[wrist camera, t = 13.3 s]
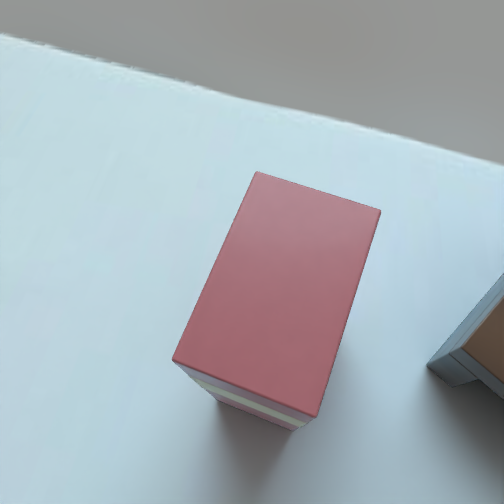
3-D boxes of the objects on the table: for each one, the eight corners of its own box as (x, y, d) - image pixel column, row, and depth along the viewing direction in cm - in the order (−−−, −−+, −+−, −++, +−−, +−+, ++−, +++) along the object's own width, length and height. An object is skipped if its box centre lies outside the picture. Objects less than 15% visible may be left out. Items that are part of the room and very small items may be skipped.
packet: (293, 432, 19) (317, 420, 10) (214, 399, 20) (168, 360, 11) (333, 311, 21) (383, 208, 12) (260, 285, 22) (255, 168, 13)
